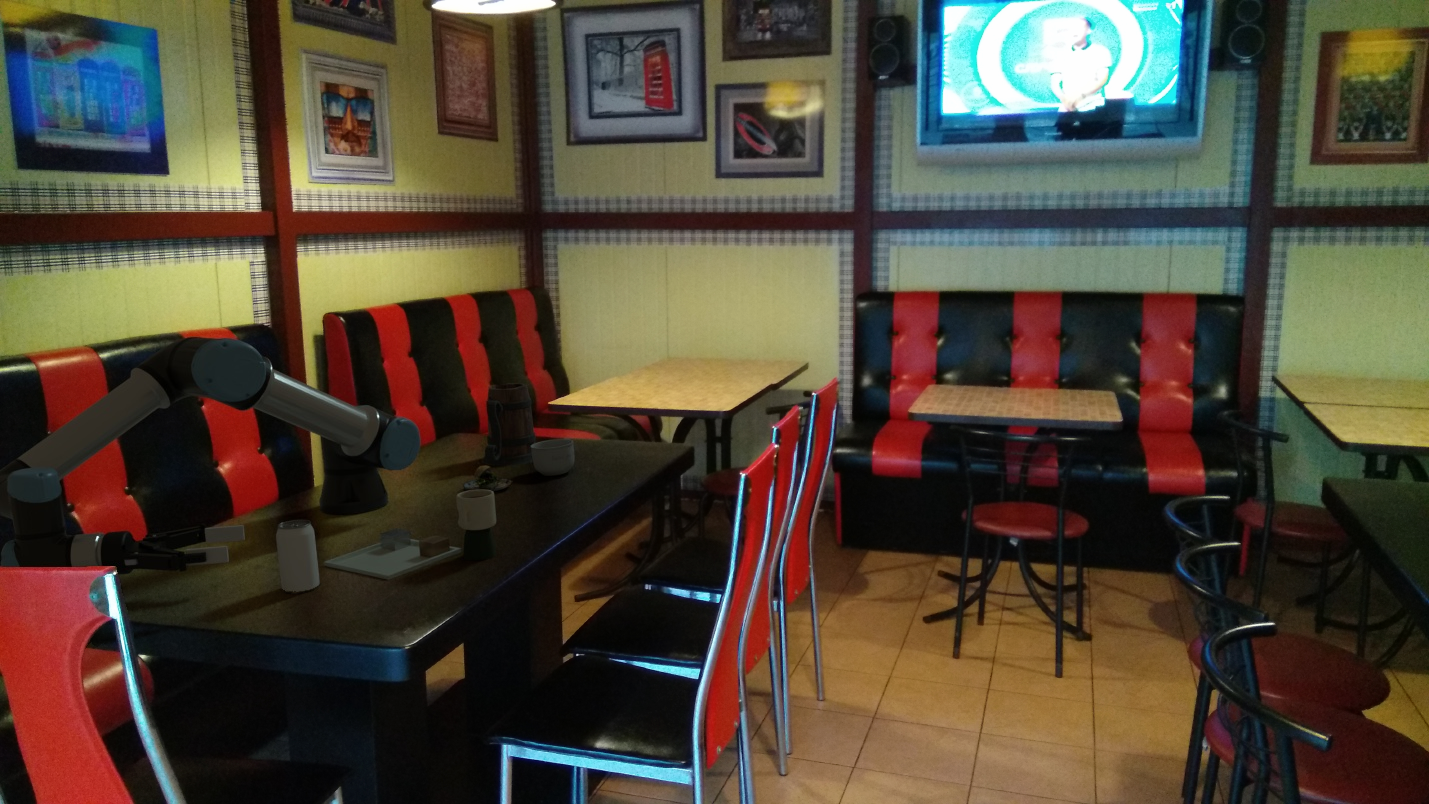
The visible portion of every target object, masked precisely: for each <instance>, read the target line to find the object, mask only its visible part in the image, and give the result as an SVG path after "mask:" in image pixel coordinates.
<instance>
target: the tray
mask: <svg viewBox="0 0 1429 804" xmlns="http://www.w3.org/2000/svg"><path fill="white" fill-rule="evenodd" d="M410 540H411V546H408V547H405V548H402V549H399V550H397V551H393V550H388V549H383V548H382V547H381V541H380V542H377V543H375V544H372V545H369V546H365V547H363V548H360V549H357V550H354V551H352V552H348V553H345V554H343V555H339V556H337V557H334V558H331V559H328V560H326V561H323V566H324V567H329V568H334V569H338V570H343V571H347V572H352V573H357V574H360V575H365V576H370V577H375V578H379V579H383V580H387V581H388V580H389V581H390V580H392V579H393V578H396V577H399V576H402V575H405V574H407V573H410V572H412V571H416V570H417V569H420V568H424V567H425V566H428V565H431V564H433V563H437V562H439V561H441V560H444V559H446V558H450V557H452V556H455V555H458V554H461V553H462V548H461V547H456V546H451V545H449V546H450V551H448V552H446V553H443V554H440V555H438V556H435V557H432V558H428V557H423V556H420V549H419V541H420V540H417V539H413V538H410Z"/></svg>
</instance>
